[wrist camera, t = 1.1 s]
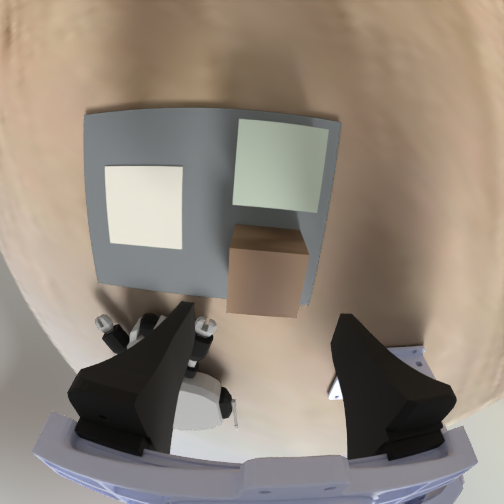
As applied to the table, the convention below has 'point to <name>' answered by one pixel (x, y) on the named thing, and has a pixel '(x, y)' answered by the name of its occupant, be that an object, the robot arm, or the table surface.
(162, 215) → the board
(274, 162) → the sage block
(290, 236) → the walnut block
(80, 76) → the table surface
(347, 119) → the table surface
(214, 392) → the robot toy
